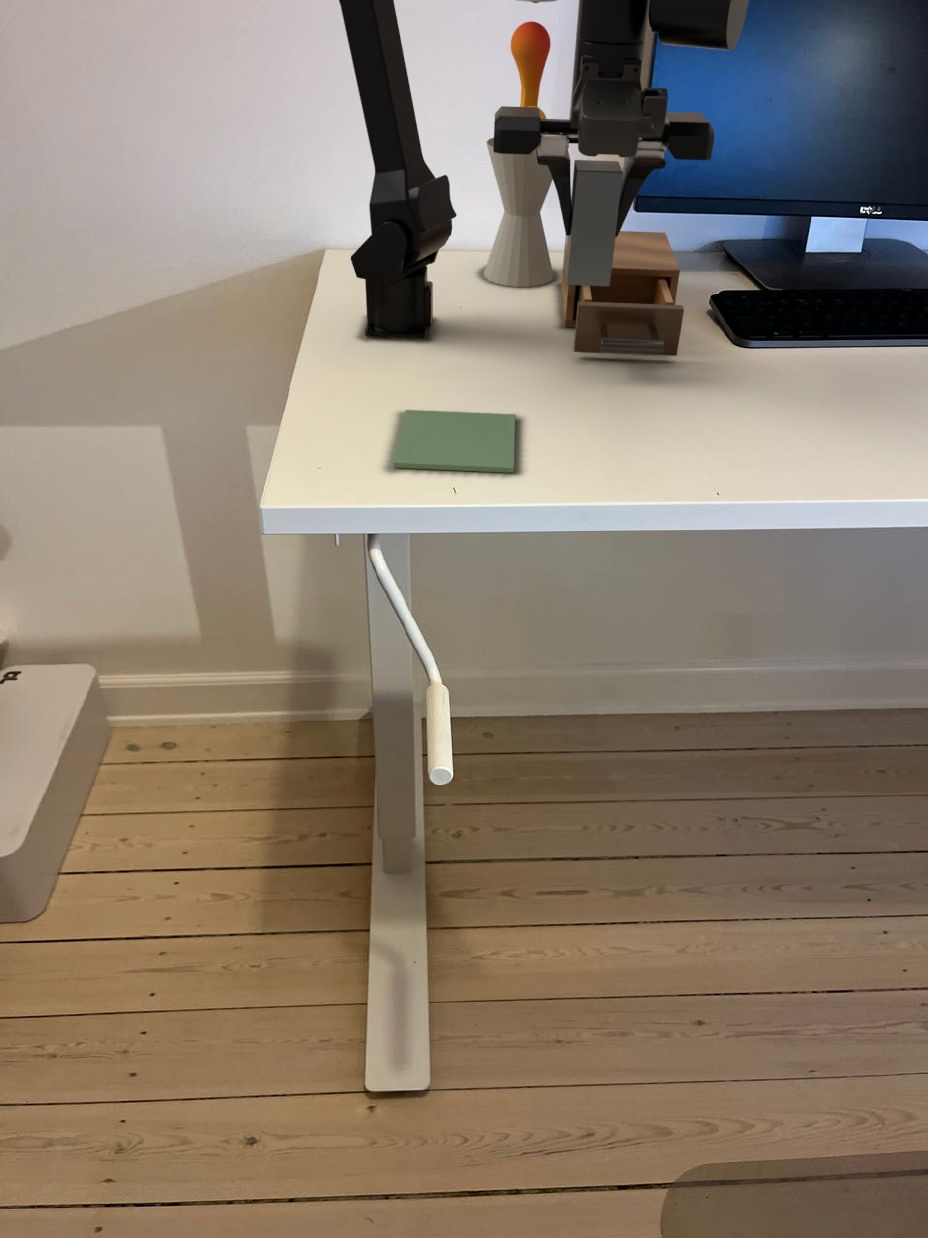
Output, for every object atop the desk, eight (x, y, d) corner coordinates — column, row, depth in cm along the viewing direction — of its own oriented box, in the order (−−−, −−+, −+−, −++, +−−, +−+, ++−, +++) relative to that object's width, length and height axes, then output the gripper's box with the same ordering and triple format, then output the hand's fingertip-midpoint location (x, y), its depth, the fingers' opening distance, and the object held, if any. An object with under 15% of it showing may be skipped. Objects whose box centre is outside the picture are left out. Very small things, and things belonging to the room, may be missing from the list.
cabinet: (670, 330, 105) (680, 269, 101) (564, 326, 105) (569, 265, 101) (657, 288, 116) (665, 232, 112) (561, 285, 116) (566, 228, 112)
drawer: (682, 374, 94) (690, 326, 91) (575, 370, 94) (580, 322, 91) (663, 311, 107) (669, 268, 104) (569, 308, 107) (573, 264, 104)
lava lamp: (474, 265, 121) (483, -76, 100) (542, 261, 123) (565, -75, 102) (493, 289, 114) (507, -72, 93) (565, 284, 116) (595, -71, 95)
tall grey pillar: (567, 285, 90) (577, 170, 84) (564, 271, 93) (574, 159, 87) (609, 286, 90) (622, 171, 84) (606, 272, 93) (618, 160, 87)
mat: (393, 467, 80) (393, 462, 79) (405, 414, 88) (405, 409, 87) (513, 473, 79) (514, 467, 79) (515, 419, 87) (515, 414, 87)
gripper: (496, 50, 73) (489, 259, 83) (742, 57, 73) (706, 266, 82) (497, 31, 82) (490, 222, 91) (717, 38, 82) (686, 228, 91)
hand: (590, 235), depth 89 cm, fingers closed on tall grey pillar, 4 cm apart
